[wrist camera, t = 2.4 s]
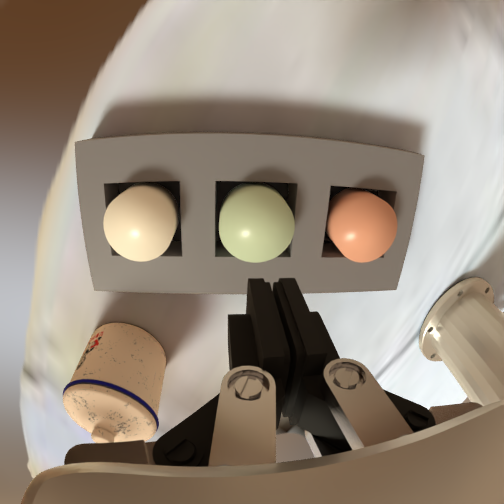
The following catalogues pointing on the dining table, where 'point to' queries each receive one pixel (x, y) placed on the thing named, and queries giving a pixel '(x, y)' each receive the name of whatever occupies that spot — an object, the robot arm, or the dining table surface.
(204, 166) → the button panel
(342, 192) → the terracotta button
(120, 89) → the dining table surface
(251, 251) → the sage button
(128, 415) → the teacup with lid
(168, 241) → the cream button
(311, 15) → the dining table surface
